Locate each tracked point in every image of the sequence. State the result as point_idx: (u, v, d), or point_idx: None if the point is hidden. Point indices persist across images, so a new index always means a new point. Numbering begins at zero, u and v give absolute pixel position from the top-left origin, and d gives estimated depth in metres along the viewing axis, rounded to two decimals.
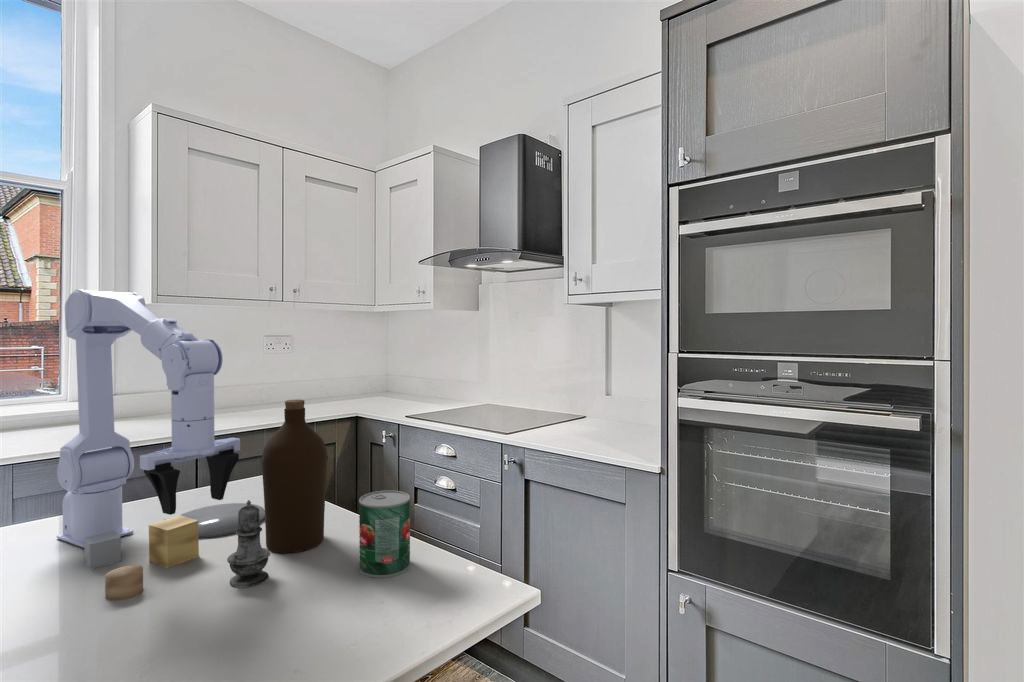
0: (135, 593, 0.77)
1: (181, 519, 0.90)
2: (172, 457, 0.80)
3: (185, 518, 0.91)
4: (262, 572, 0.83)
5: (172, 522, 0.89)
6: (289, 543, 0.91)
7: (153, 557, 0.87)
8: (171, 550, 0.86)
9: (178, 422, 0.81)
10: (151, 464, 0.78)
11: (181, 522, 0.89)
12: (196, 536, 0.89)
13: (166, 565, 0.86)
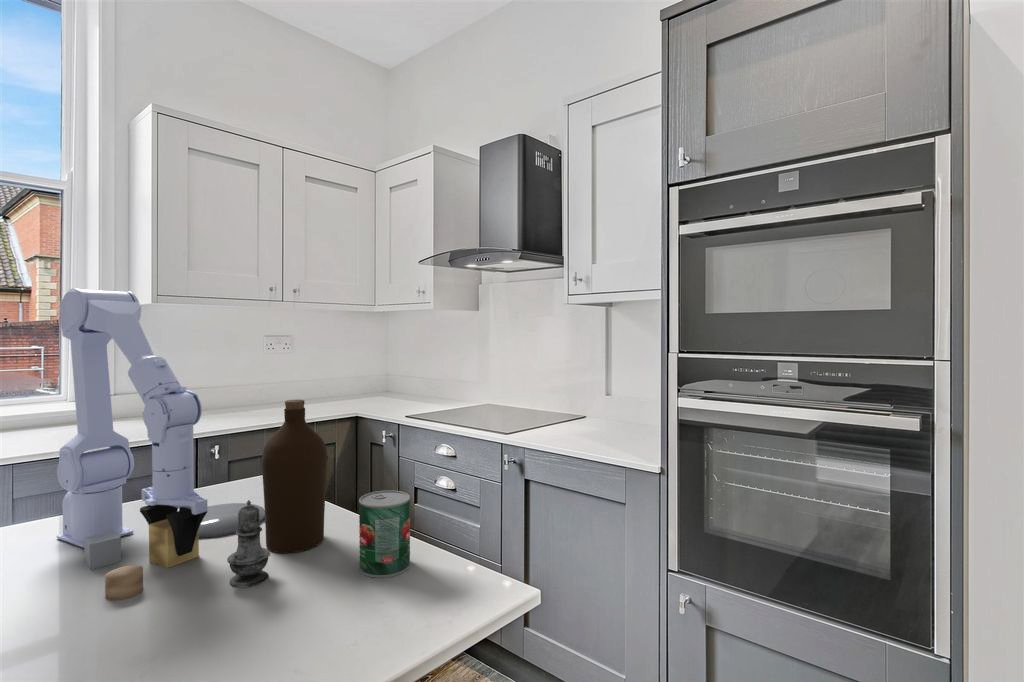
0: (135, 593, 0.77)
1: None
2: (147, 496, 0.89)
3: None
4: (262, 572, 0.83)
5: None
6: (289, 543, 0.91)
7: (153, 557, 0.87)
8: (171, 549, 0.86)
9: None
10: (143, 496, 0.91)
11: None
12: (196, 536, 0.89)
13: (166, 565, 0.86)
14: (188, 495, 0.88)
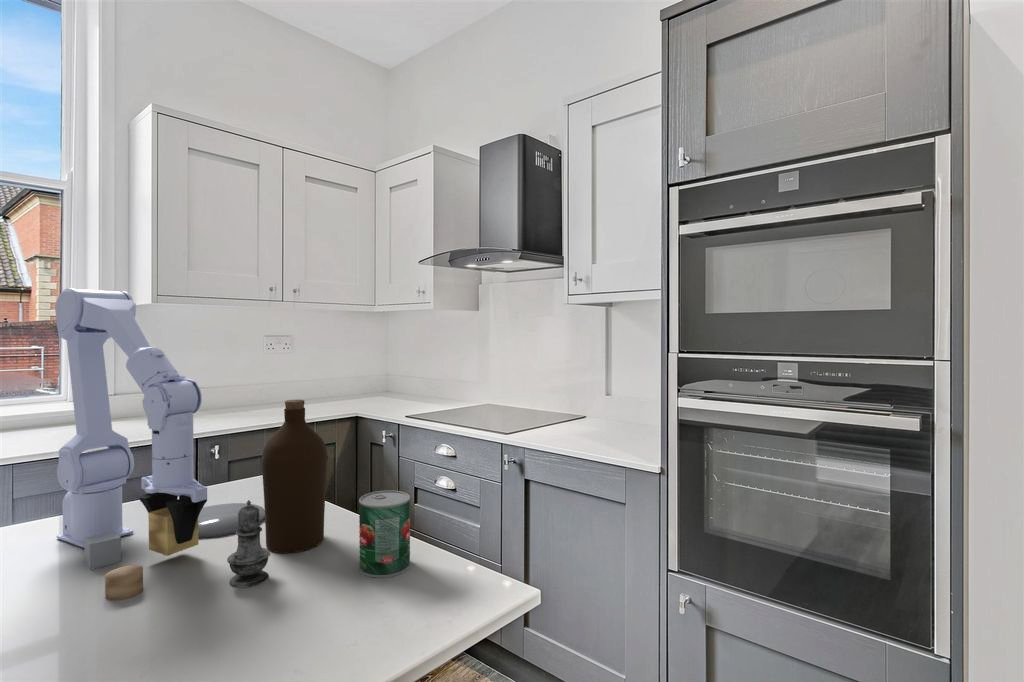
0: (135, 593, 0.77)
1: None
2: (147, 484, 0.89)
3: None
4: (262, 572, 0.83)
5: None
6: (289, 543, 0.91)
7: (153, 545, 0.87)
8: (171, 537, 0.86)
9: None
10: (143, 484, 0.91)
11: None
12: (196, 524, 0.89)
13: (166, 552, 0.86)
14: (188, 483, 0.88)
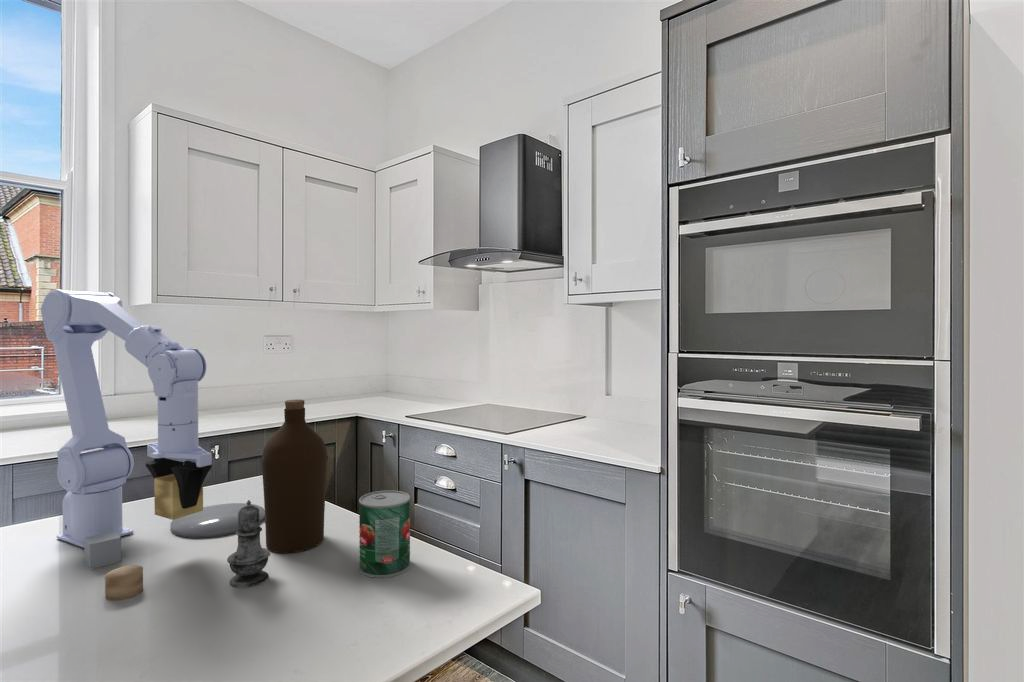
0: (135, 593, 0.77)
1: None
2: (153, 451, 0.91)
3: None
4: (262, 572, 0.83)
5: None
6: (289, 543, 0.91)
7: (158, 510, 0.89)
8: (176, 502, 0.87)
9: None
10: (148, 452, 0.92)
11: None
12: (200, 490, 0.91)
13: (171, 517, 0.87)
14: (193, 450, 0.89)
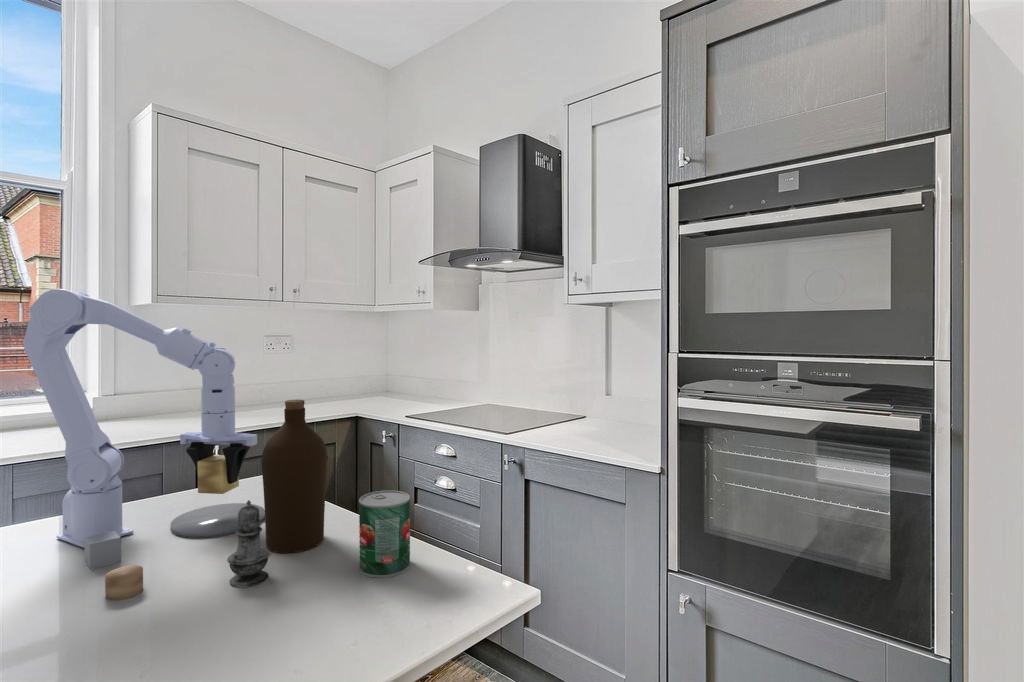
0: (135, 593, 0.77)
1: (221, 456, 1.06)
2: (192, 438, 1.04)
3: None
4: (262, 572, 0.83)
5: (216, 458, 1.05)
6: (289, 543, 0.91)
7: (203, 488, 1.03)
8: (224, 479, 1.03)
9: None
10: (182, 440, 1.05)
11: None
12: None
13: (221, 491, 1.02)
14: (234, 434, 1.05)
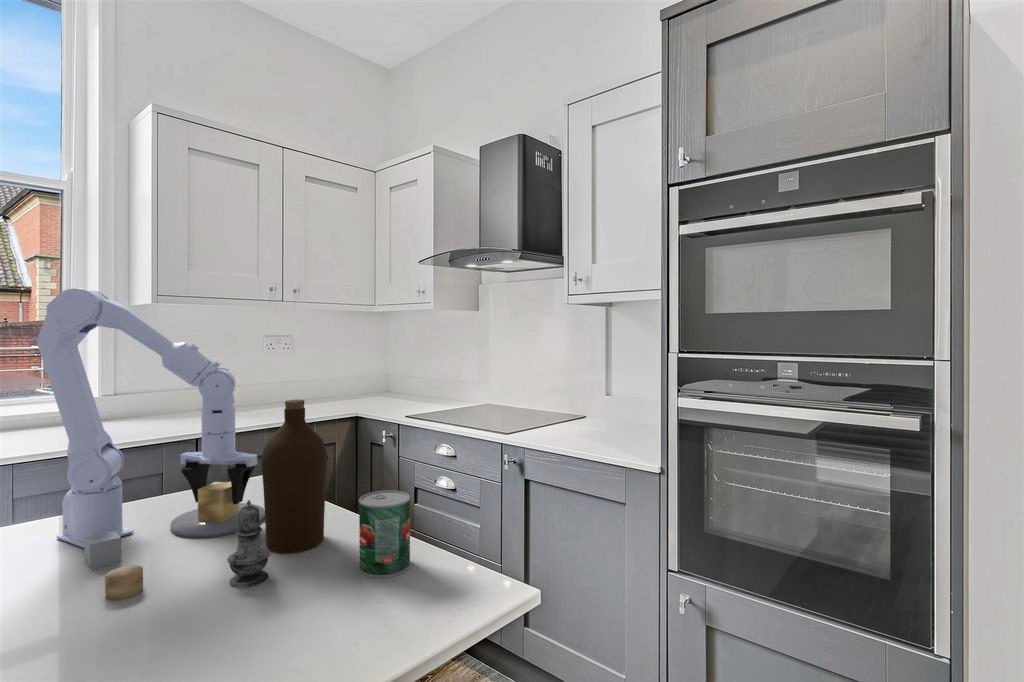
0: (135, 593, 0.77)
1: (221, 483, 1.06)
2: (192, 458, 1.04)
3: (224, 482, 1.07)
4: (262, 572, 0.83)
5: (216, 485, 1.05)
6: (289, 543, 0.91)
7: (203, 516, 1.03)
8: (224, 507, 1.03)
9: None
10: (182, 460, 1.05)
11: (225, 485, 1.06)
12: None
13: (221, 520, 1.03)
14: (234, 454, 1.05)
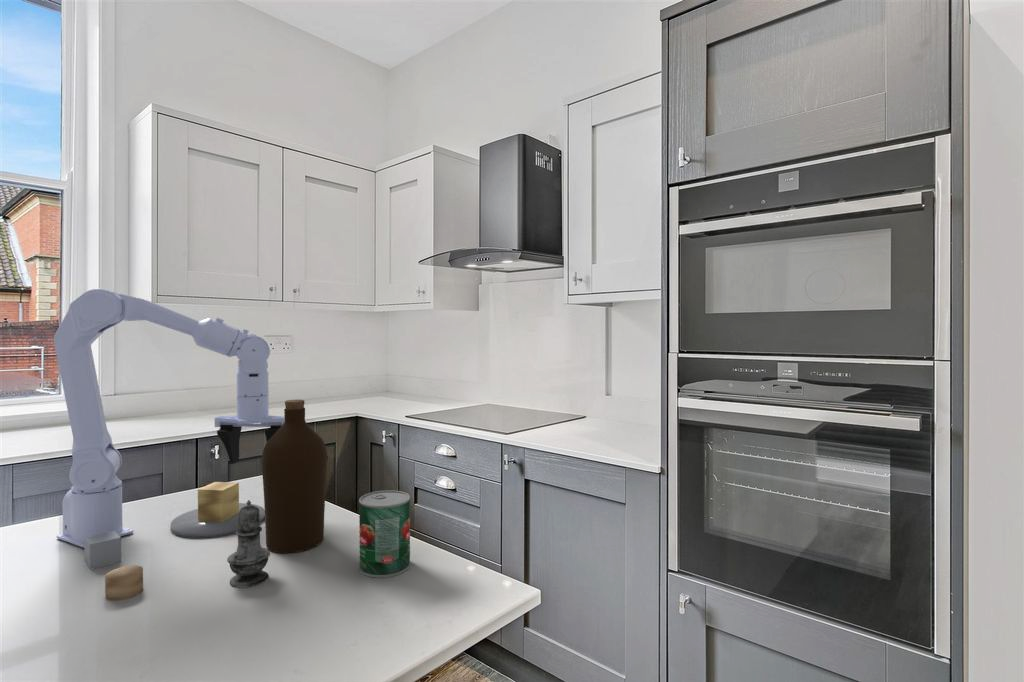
0: (135, 593, 0.77)
1: (221, 483, 1.06)
2: (227, 421, 1.08)
3: (224, 482, 1.07)
4: (262, 572, 0.83)
5: (216, 485, 1.05)
6: (289, 543, 0.91)
7: (203, 516, 1.03)
8: (224, 507, 1.03)
9: (237, 396, 1.08)
10: (216, 423, 1.08)
11: (225, 485, 1.06)
12: (237, 496, 1.07)
13: (221, 520, 1.03)
14: (268, 416, 1.10)
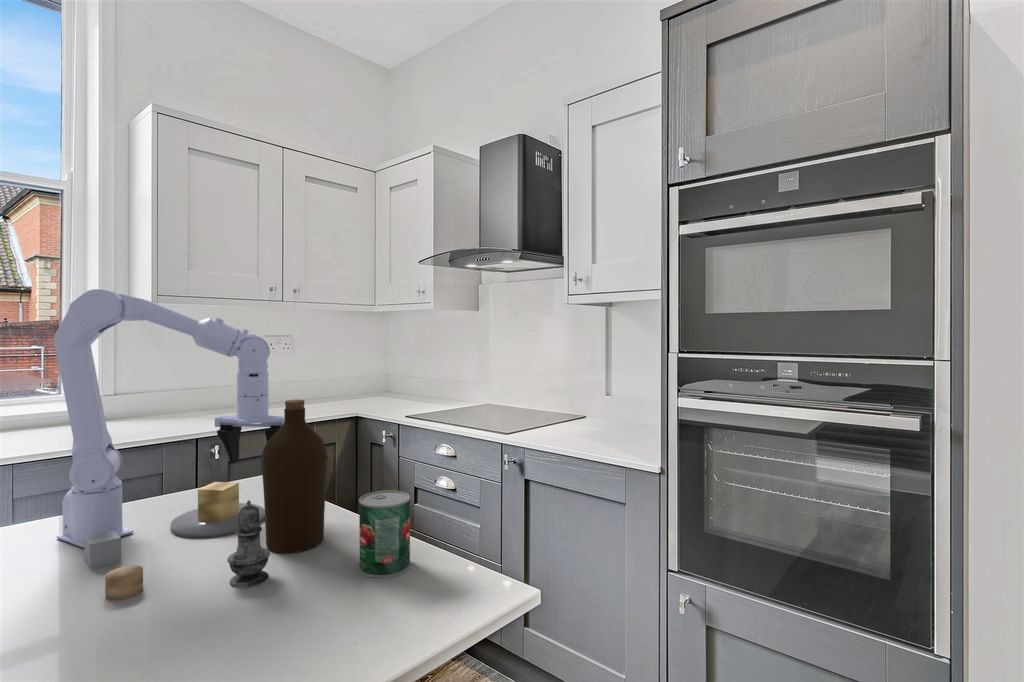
0: (135, 593, 0.77)
1: (221, 483, 1.06)
2: (227, 421, 1.08)
3: (224, 482, 1.07)
4: (262, 572, 0.83)
5: (216, 485, 1.05)
6: (289, 543, 0.91)
7: (203, 516, 1.03)
8: (224, 507, 1.03)
9: (237, 396, 1.08)
10: (216, 423, 1.08)
11: (225, 485, 1.06)
12: (237, 496, 1.07)
13: (221, 520, 1.03)
14: (268, 416, 1.10)
